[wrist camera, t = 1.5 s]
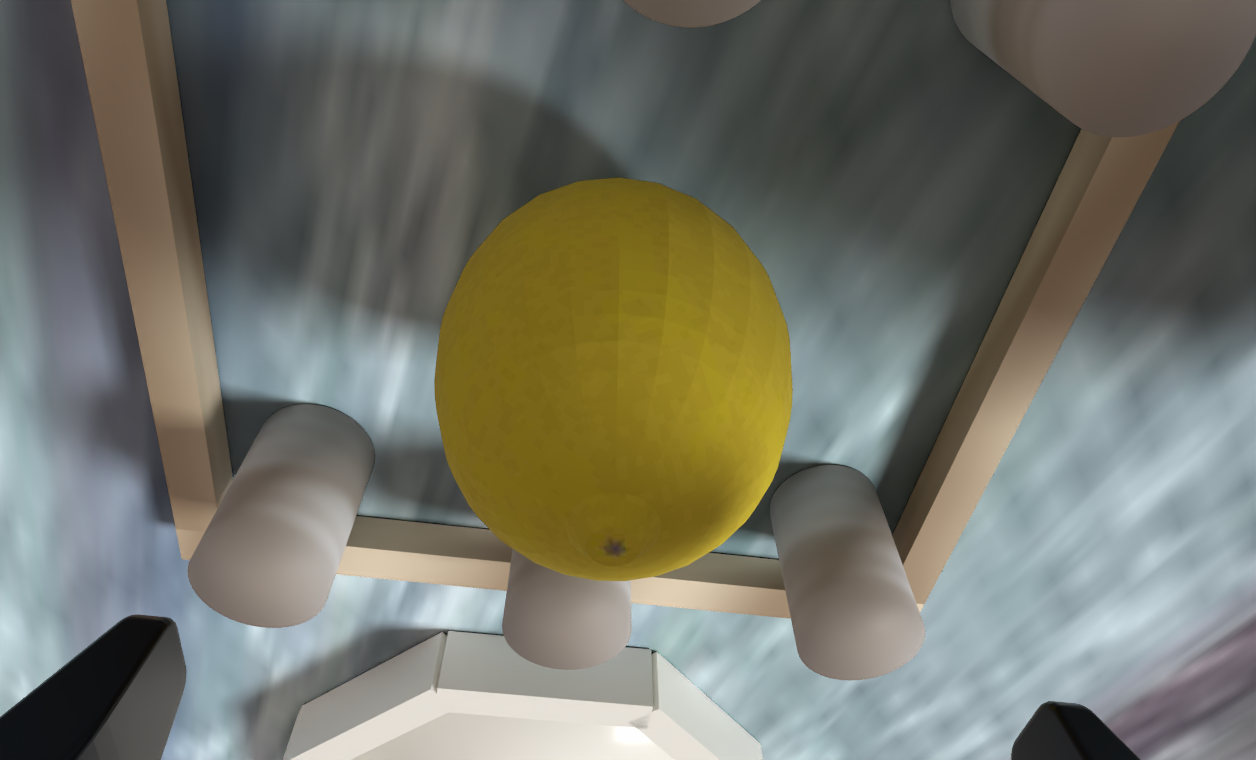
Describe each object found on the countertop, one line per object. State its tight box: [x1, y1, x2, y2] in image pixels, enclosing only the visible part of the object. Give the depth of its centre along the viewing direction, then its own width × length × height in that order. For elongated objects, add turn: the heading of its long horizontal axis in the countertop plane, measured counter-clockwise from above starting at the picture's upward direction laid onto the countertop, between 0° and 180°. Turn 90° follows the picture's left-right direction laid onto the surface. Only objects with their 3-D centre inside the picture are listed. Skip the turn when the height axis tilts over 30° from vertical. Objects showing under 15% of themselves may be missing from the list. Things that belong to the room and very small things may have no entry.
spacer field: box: [71, 0, 1256, 680], centre depth 15 cm, size 18×18×4 cm
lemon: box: [435, 177, 792, 581], centre depth 14 cm, size 6×6×8 cm
